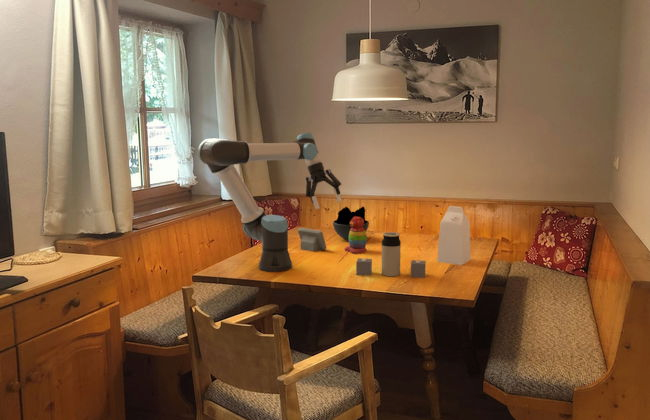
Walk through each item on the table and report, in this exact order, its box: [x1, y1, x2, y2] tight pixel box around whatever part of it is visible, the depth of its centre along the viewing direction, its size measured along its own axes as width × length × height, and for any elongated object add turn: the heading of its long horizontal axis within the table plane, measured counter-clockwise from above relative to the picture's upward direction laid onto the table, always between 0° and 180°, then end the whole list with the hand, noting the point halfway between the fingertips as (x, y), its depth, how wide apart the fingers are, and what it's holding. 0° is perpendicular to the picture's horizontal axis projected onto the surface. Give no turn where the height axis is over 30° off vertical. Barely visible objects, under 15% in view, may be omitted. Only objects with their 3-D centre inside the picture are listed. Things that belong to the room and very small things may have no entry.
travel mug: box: [381, 231, 402, 278], centre depth 253 cm, size 8×8×18 cm
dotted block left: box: [355, 257, 373, 276], centre depth 256 cm, size 6×6×6 cm
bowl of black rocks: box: [332, 206, 370, 241], centre depth 326 cm, size 20×20×19 cm
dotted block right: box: [410, 259, 427, 279], centre depth 252 cm, size 6×6×6 cm
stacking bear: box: [344, 216, 368, 255], centre depth 298 cm, size 11×10×18 cm
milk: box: [436, 205, 471, 266], centre depth 276 cm, size 12×12×26 cm
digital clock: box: [297, 227, 327, 252], centre depth 304 cm, size 16×9×11 cm, turn 39°
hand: (328, 205), depth 286 cm, fingers open, 13 cm apart
